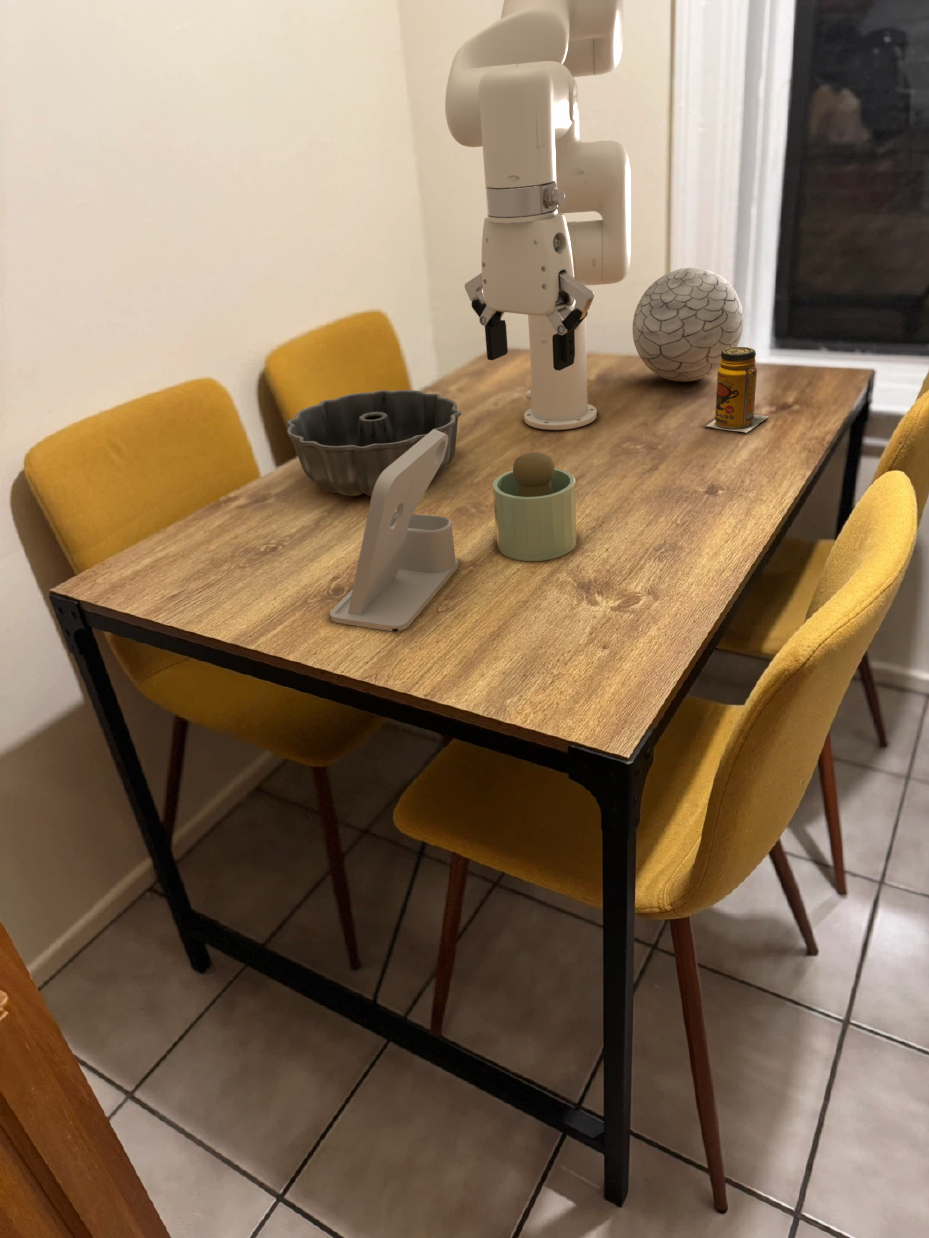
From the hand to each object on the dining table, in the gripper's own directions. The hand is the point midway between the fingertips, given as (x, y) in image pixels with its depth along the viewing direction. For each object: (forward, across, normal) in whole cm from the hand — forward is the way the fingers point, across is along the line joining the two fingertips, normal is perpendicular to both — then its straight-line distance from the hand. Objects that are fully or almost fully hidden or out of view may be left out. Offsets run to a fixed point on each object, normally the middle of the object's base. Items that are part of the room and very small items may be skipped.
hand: (529, 362), depth 104 cm
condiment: (+24, -3, -51) cm, 57 cm away
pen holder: (+23, -1, +1) cm, 23 cm away
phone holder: (+23, +6, +20) cm, 31 cm away
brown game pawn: (+22, 0, +1) cm, 23 cm away
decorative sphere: (+25, +17, -69) cm, 75 cm away
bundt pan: (+24, +34, -5) cm, 42 cm away
